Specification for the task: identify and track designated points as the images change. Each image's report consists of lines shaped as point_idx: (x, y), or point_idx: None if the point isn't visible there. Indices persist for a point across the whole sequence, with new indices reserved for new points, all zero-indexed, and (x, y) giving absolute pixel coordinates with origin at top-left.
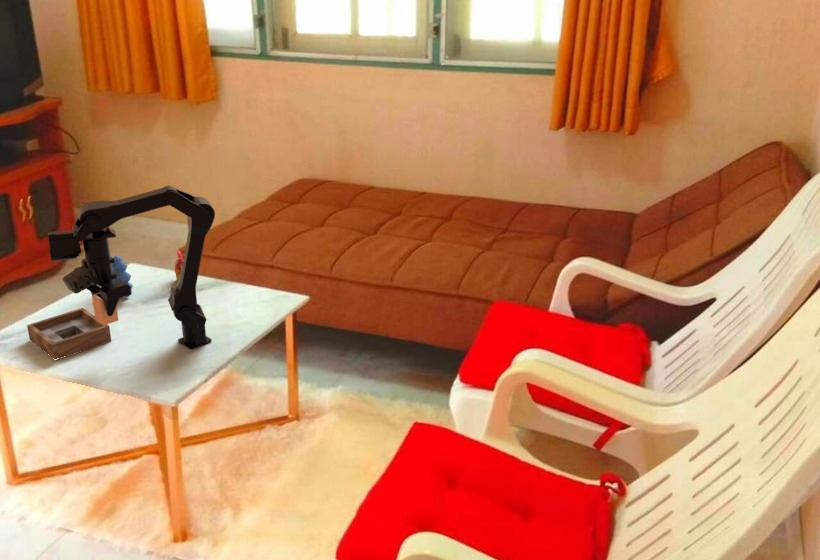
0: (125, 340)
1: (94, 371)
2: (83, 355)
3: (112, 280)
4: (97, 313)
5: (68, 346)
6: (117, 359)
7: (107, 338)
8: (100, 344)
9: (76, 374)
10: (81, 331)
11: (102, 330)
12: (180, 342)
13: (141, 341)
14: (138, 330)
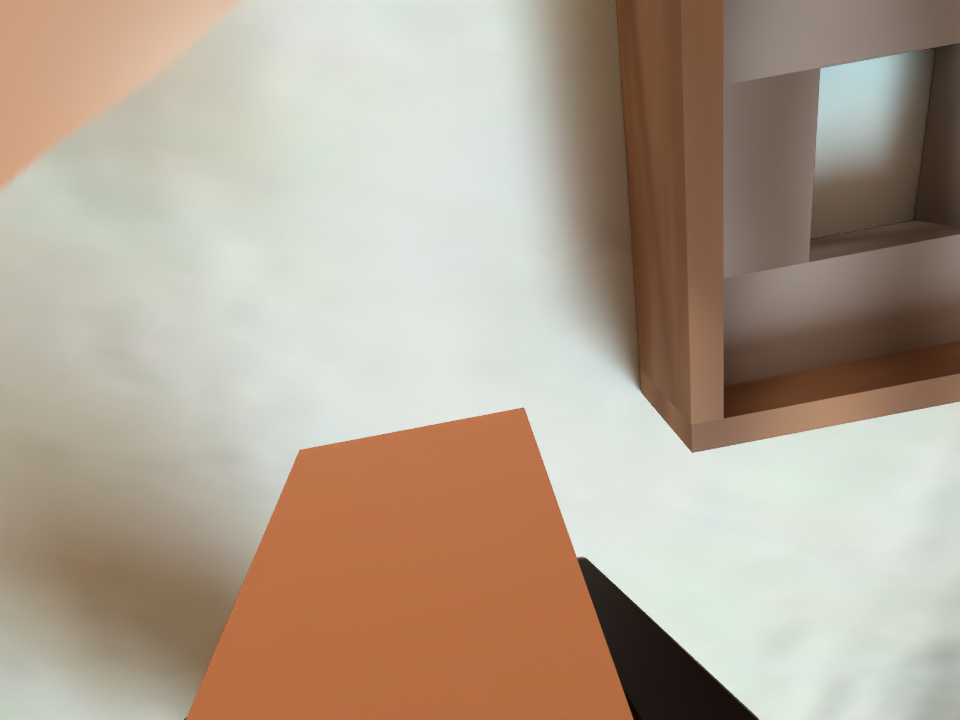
0: (590, 463)
1: (259, 162)
2: (559, 166)
3: None
4: (431, 513)
5: (651, 59)
6: (361, 354)
7: (649, 381)
8: (638, 319)
9: (276, 15)
10: (853, 250)
11: (682, 388)
12: None
13: None
14: (662, 552)
